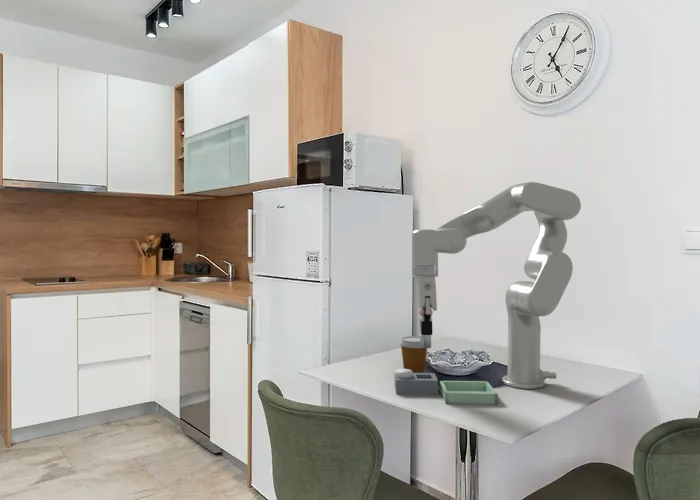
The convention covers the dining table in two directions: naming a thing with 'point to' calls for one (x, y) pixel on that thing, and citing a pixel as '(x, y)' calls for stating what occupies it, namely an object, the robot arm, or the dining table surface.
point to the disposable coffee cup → (413, 354)
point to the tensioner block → (415, 382)
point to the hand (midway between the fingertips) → (426, 332)
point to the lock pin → (424, 339)
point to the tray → (468, 392)
